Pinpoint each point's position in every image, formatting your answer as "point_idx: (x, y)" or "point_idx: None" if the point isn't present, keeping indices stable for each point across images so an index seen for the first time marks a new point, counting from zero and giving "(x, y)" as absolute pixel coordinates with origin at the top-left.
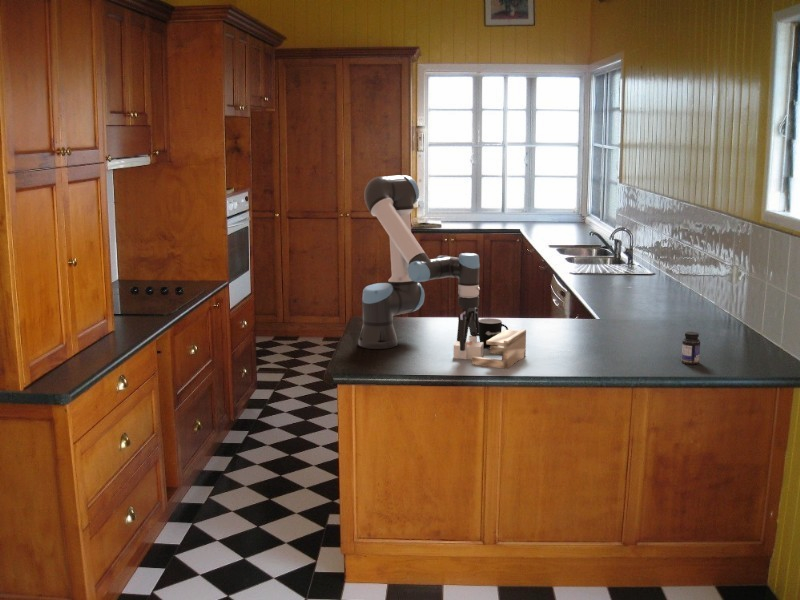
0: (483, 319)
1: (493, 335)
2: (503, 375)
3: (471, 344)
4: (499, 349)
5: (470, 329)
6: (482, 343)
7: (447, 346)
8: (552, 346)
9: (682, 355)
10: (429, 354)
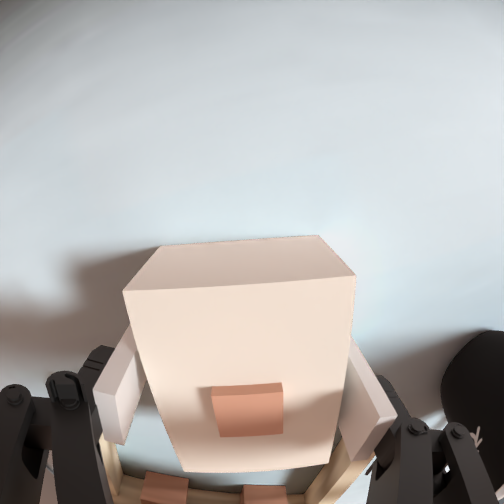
0: None
1: None
2: None
3: (223, 429)
4: (341, 464)
5: (391, 488)
6: (289, 467)
7: (471, 130)
8: None
9: None
10: (209, 27)
